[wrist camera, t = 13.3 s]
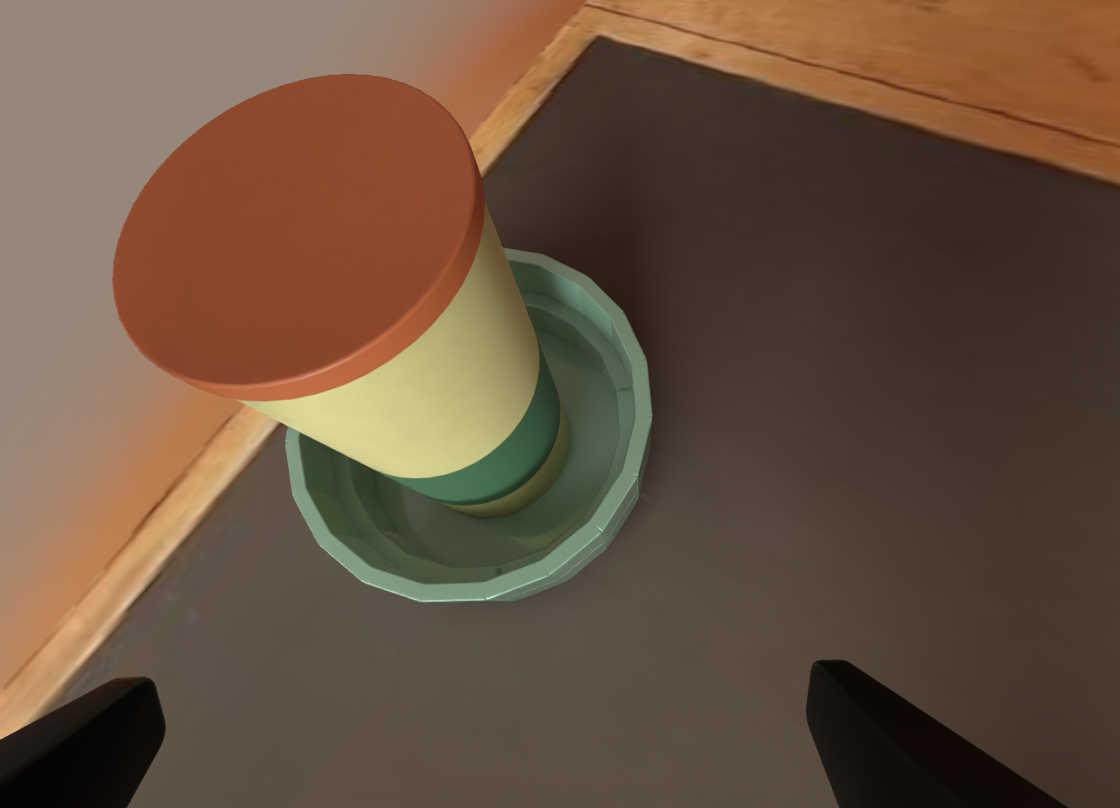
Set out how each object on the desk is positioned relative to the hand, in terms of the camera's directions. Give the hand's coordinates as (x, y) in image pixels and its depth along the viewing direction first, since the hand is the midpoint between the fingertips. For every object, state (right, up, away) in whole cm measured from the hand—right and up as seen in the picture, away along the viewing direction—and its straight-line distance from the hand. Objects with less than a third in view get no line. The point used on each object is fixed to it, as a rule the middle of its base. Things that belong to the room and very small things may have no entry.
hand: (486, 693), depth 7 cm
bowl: (-1, +2, +13) cm, 14 cm away
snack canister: (-2, +3, +13) cm, 13 cm away
